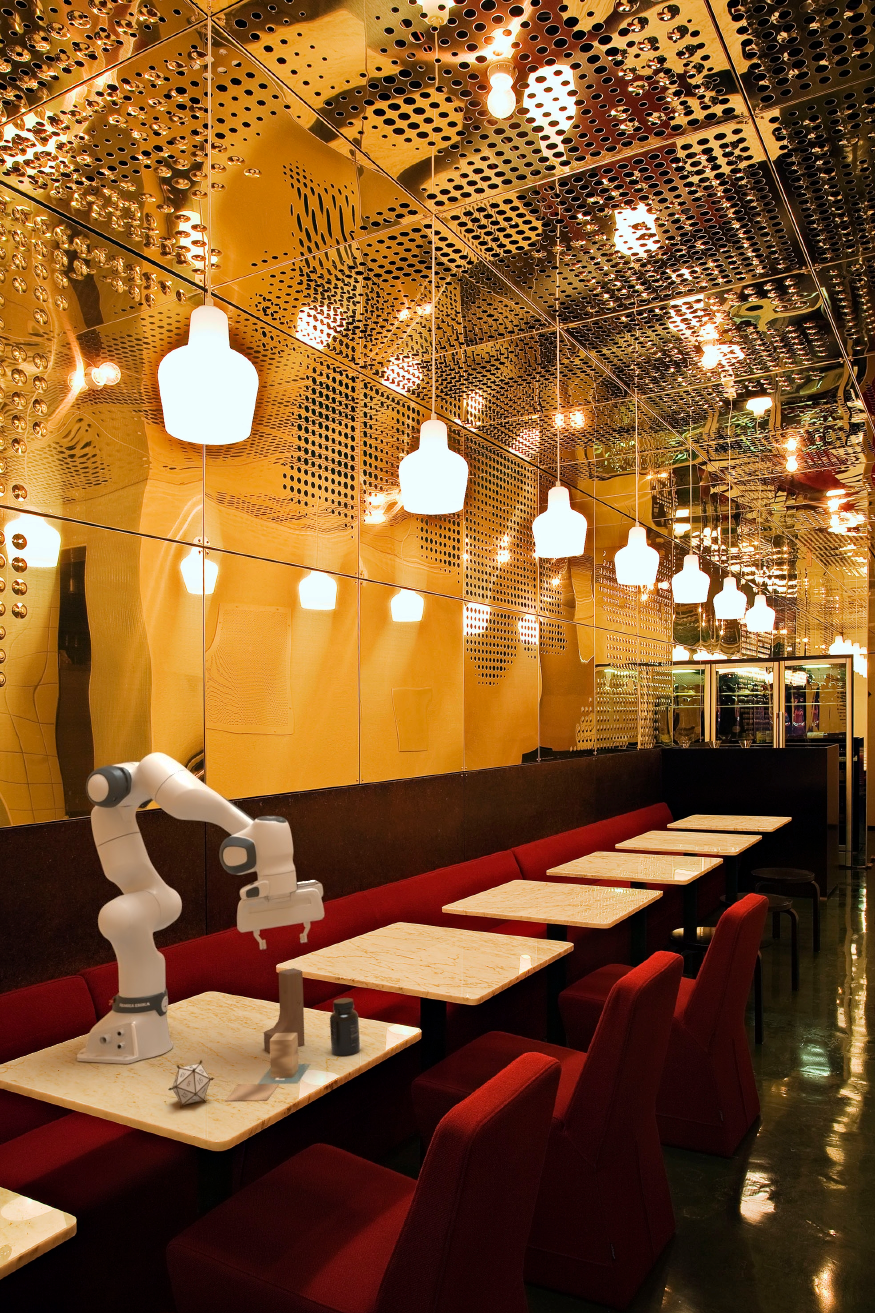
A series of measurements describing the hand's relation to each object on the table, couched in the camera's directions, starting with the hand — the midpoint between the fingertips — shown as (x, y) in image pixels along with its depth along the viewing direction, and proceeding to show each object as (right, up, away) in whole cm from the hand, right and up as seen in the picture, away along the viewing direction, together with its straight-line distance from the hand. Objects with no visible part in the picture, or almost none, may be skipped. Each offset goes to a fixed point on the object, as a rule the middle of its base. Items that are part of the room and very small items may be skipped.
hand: (283, 945), depth 203 cm
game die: (-15, -26, -23) cm, 37 cm away
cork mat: (-3, -25, -19) cm, 32 cm away
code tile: (+2, -26, -8) cm, 28 cm away
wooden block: (-2, -29, +10) cm, 30 cm away
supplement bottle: (+14, -27, +5) cm, 31 cm away
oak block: (+2, -26, -8) cm, 27 cm away
